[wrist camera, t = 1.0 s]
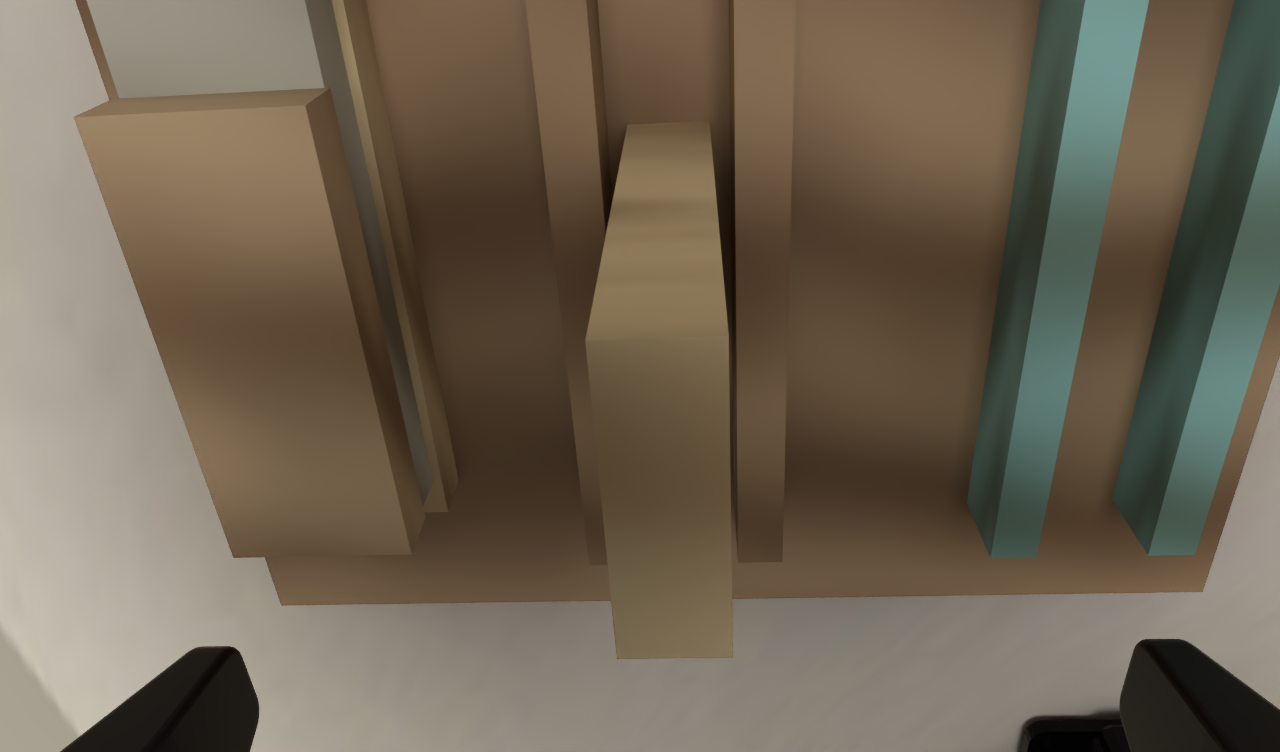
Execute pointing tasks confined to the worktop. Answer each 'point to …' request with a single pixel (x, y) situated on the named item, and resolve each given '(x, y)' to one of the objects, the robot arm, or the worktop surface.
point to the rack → (851, 283)
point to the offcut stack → (276, 266)
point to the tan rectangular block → (664, 399)
